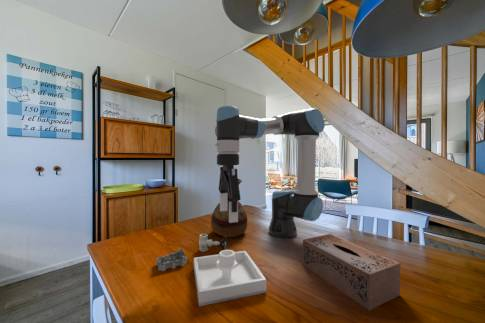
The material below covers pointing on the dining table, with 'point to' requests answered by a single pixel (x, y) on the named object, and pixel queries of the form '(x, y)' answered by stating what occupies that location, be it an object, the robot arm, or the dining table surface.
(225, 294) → the tray
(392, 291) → the tissue box cover
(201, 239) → the valve
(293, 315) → the dining table surface
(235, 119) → the robot arm
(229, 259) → the pipe fitting
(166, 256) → the grey open frame part
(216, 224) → the brown vase
